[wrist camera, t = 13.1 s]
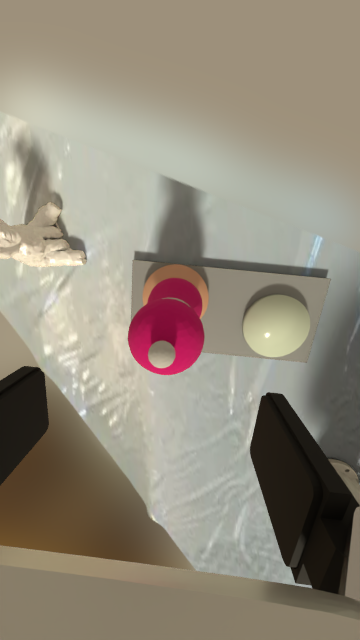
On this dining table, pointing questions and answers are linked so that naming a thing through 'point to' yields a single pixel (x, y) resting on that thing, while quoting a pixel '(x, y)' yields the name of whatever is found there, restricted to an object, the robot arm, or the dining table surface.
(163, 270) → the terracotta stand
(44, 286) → the dining table surface
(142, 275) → the board
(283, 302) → the pale green domed disc
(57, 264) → the sitting furry creature
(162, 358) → the pepper mill
